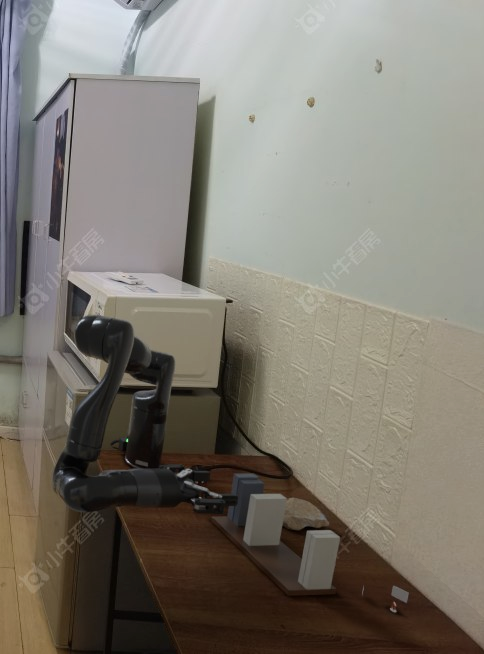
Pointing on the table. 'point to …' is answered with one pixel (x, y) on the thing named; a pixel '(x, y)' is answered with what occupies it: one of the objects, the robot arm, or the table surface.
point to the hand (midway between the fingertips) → (221, 487)
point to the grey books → (243, 496)
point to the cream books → (318, 559)
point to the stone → (302, 515)
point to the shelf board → (271, 560)
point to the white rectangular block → (264, 519)
